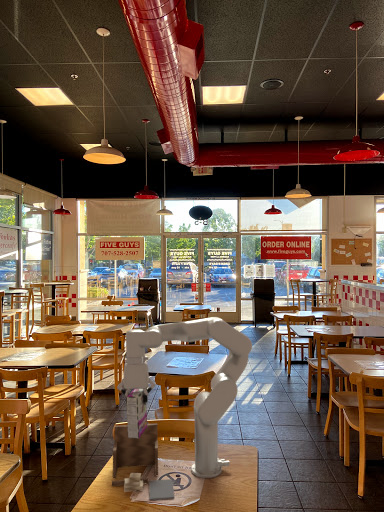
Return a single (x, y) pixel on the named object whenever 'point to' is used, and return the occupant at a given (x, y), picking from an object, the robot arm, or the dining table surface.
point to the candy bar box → (136, 413)
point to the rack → (135, 450)
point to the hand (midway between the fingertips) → (136, 404)
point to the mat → (161, 489)
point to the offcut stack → (133, 482)
